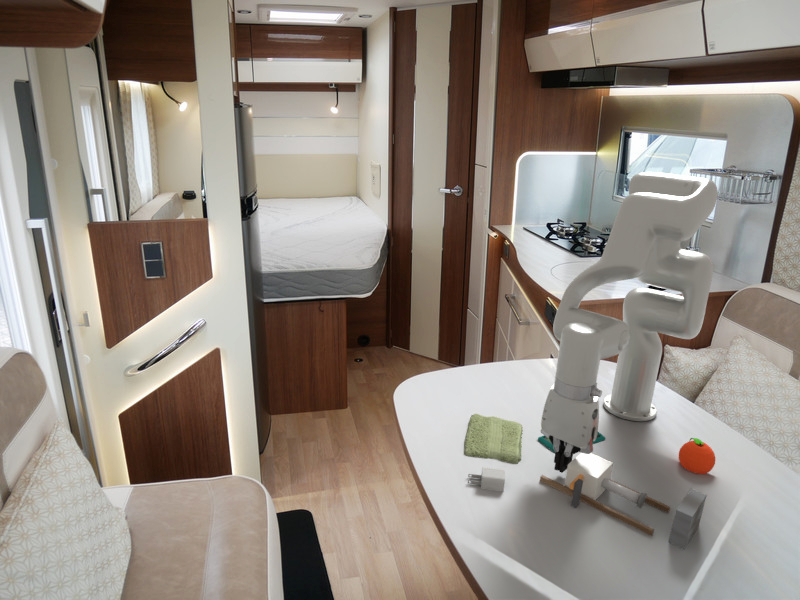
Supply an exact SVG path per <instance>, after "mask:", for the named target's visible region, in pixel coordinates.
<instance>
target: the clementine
mask: <svg viewBox="0 0 800 600" xmlns="http://www.w3.org/2000/svg"><path fill="white" fill-rule="evenodd" d="M678 461H679V463H680V465H681V467H682V468H684V469H685V470H687V471H688V472H691V473H695V474H700V475H702V474H703V475H704V474H708V473H709V472H711V471H712V470H713V469H714V467H715V465H716V455H715V452H714V450H713V449H712V447H711V446H710V445H708V444H707V443H706V442H703V441H702V440H700V439H699V438H695V437H690V439H689V440H688V441H687V442H685V443H683V444H682V446H681V447H680V448H679V451H678Z"/></svg>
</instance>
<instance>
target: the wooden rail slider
mask: <svg viewBox="0 0 800 600" xmlns="http://www.w3.org/2000/svg"><path fill="white" fill-rule="evenodd" d="M539 481H540V482H542V483H544V484H546V485H548V486H549V487H552V488H553V489H556V490H558V491H560V492H562V493H564V494H566V495H568V496H571V497H572V496H573V490H572V489H570V488H568V487H566V486H565V484H564V485H563V484H561V483H560V482H559V481H556V480H554V479H552V478H550V477H547V476H546V475H543V474H542V475H540V478H539ZM610 481H613V482H615V483H617V484H619V485H621V486H623V487H626V488H628V489H630V490H632V491H634V492H637V493H639V494H641V493H642V492H639V491H637V490H635V489H633V488H630V487H629V486H628V487H627V486H626V485H623V484H621V483H619V482H617V481H615V480H612V479H610ZM707 496H708V495H707V494H705V493H703V492H700V491H698V490H695V489H694V488H690V489H689V491H688V492H687V494H686V495H685V496H684V498H683V500H682V501H681V502H680V503H679V504H678V506H677V508H676V509H675V513H674V516H673V522H672V526H671V531H670V534H669V538H668V543H670V544H672V545H673V546H675V547H678V548H679V549H682V550H685V549H686V547H687V546H688V544H689V543H690V542H691V540H692V538H693V536H694V535H695V533H696V531H698V529H699V526H700V522H701V519H702V515H703V510H704V507H705V503H706V499H707ZM580 502H582V503H584V504H586V505H589V506H590V507H592V508H594V509H596V510H598V511H600V512H602V513H605V514H607V516H608V515H609V516H610V517H612V518H614V519H617V520H618V521H621V522H623V523H624V524H627V525H629V526H630V527H633V528H635V529H636V530H639V531H641V532H643V533H645V534H647V535H648V536H651V537H652V536H653V535H654V532H655V528H652V527H650V526H648V525H646V524H644V523H643V522H640V521H638V520H636V519H634V518H632V517H630V516H628V515H626V514H623V513H622V512H619V511H618V510H616V509H613V508H611V507H609V506H607V505H606V504H603V503H601V502H599V501H597V500H593V499H591V498H589V497H587V496H585V495H583V494H581V497H580ZM644 504H647V505H649V506H652V507H654V508H656V509H659V510H661V511H662V512H665V513H667V514H669V513H670V511H671V506H669V505H667V504H665V503H663V502H661V501H659V500H656V499H654V498H652V497H649V496H648V495H647V497H646V501H645V503H644Z"/></svg>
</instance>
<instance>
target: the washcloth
mask: <svg viewBox="0 0 800 600" xmlns="http://www.w3.org/2000/svg"><path fill="white" fill-rule="evenodd" d="M466 431H467V432H466V434H465V439H464V455H465V456H466V457H472V458H480V459H481V458H483V459H494V460H499V461H501V462H507V463H510V464H515V465H516V464H519V462H521V461H522V445H523V444H522V440H523V432H524V430H523V425H522V424H521V423H519V422H518V421H512V420H508V419H504V418H501V417H497V416H485V415H482V414H479V413H473V414H471V415H470V419H469V422H468V426H467V430H466Z"/></svg>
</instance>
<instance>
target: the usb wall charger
mask: <svg viewBox="0 0 800 600" xmlns="http://www.w3.org/2000/svg"><path fill="white" fill-rule="evenodd" d="M505 471H506V470H505V469H501V468H500V469H499V468H493V467H492V468H491V467H483V466H482V469H481V474H474V473H468V475H467V477H468V478H471V479H467V484H470V485H477V486H480V489H482V490H489V491H497V492H501V493H502V492H505V482H506V477H505V476H506V475H505ZM473 479H480V481H479V480H473Z"/></svg>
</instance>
